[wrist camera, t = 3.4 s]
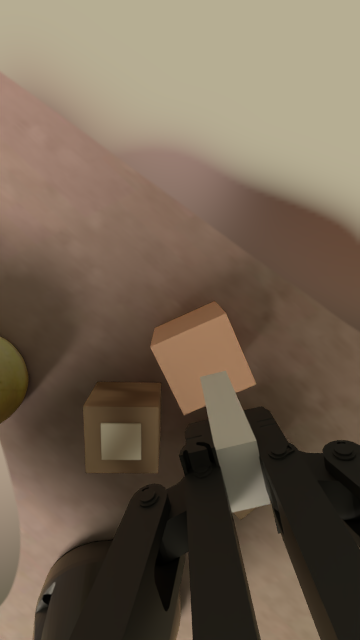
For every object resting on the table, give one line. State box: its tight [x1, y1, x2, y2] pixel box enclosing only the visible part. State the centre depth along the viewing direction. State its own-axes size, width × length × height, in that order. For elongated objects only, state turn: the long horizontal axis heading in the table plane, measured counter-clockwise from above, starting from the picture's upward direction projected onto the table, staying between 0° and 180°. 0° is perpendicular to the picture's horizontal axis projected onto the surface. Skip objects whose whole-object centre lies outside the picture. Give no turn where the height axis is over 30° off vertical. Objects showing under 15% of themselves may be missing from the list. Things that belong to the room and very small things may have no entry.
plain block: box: [150, 301, 256, 415], centre depth 26 cm, size 6×6×6 cm
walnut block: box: [83, 382, 161, 473], centre depth 27 cm, size 6×6×5 cm
